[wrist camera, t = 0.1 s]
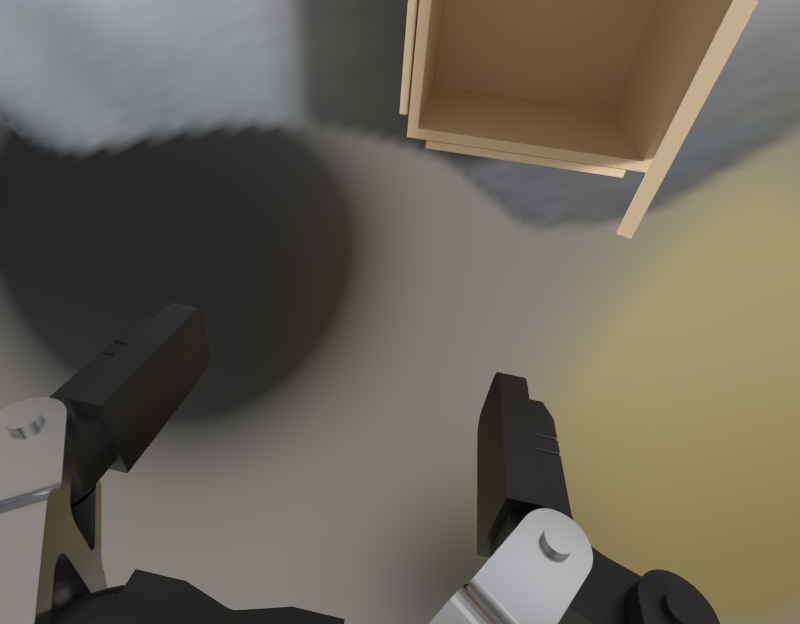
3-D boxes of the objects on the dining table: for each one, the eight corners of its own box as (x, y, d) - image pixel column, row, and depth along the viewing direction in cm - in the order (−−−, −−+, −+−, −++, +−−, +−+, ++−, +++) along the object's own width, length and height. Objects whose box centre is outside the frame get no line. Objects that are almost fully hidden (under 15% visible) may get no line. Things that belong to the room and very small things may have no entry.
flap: (882, -271, 12) (973, -480, 6) (904, -272, 12) (1020, -488, 6) (663, 154, 20) (615, 233, 14) (674, 157, 20) (631, 239, 14)
